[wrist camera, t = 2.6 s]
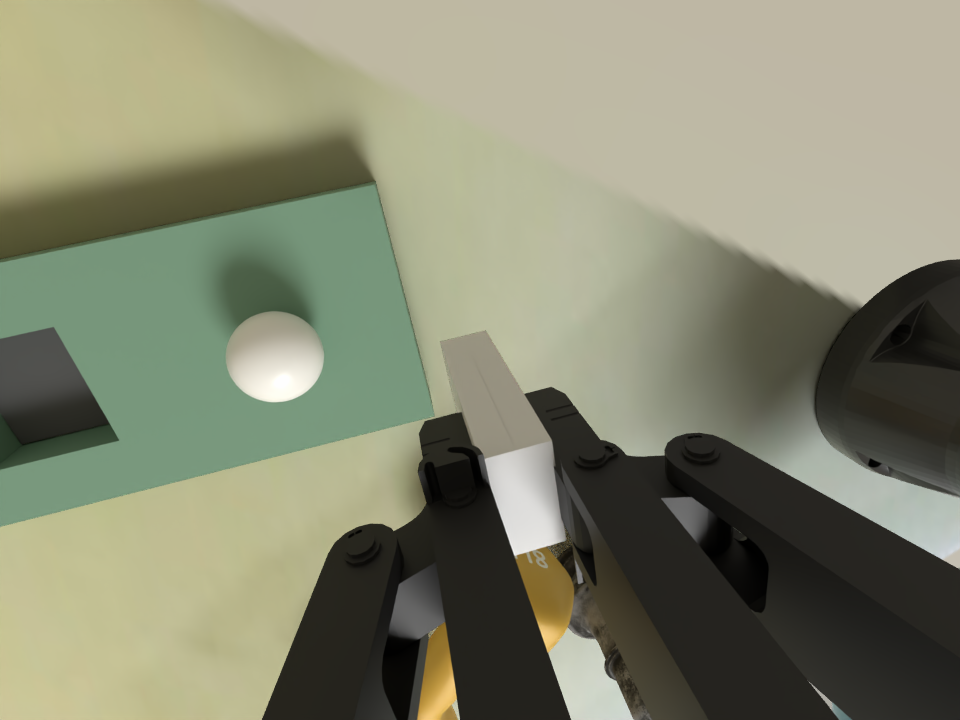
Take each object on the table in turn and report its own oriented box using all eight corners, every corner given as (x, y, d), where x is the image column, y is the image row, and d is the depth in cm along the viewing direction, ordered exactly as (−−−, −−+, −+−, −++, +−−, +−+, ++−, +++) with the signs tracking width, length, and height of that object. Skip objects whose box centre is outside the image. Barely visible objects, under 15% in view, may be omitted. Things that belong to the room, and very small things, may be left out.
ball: (313, 291, 23) (300, 318, 20) (338, 368, 25) (331, 405, 21) (225, 311, 23) (196, 342, 19) (257, 387, 24) (236, 429, 21)
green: (375, 181, 24) (374, 184, 22) (430, 395, 29) (434, 416, 27) (-163, 292, 22) (-226, 309, 20) (-5, 504, 27) (-40, 536, 25)
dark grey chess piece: (621, 526, 36) (726, 690, 25) (627, 584, 38) (724, 756, 27) (543, 549, 35) (615, 726, 25) (554, 606, 38) (624, 790, 27)
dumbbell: (453, 487, 32) (474, 588, 25) (563, 529, 35) (612, 630, 28) (325, 682, 37) (311, 817, 29) (432, 705, 40) (444, 831, 33)
